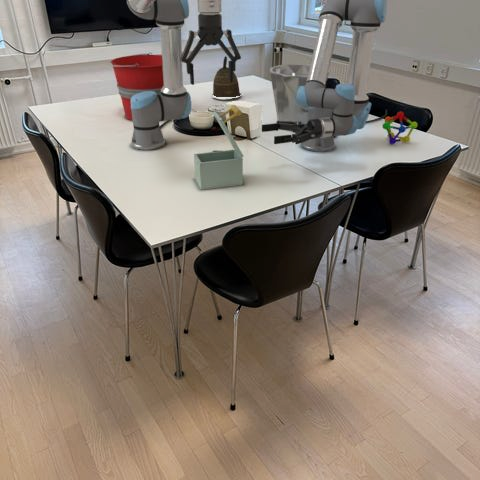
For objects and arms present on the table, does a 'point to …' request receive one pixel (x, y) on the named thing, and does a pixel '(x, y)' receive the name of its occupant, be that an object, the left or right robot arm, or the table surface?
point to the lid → (225, 129)
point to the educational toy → (398, 128)
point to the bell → (225, 83)
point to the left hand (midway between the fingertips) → (211, 82)
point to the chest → (218, 169)
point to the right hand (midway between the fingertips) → (267, 134)
